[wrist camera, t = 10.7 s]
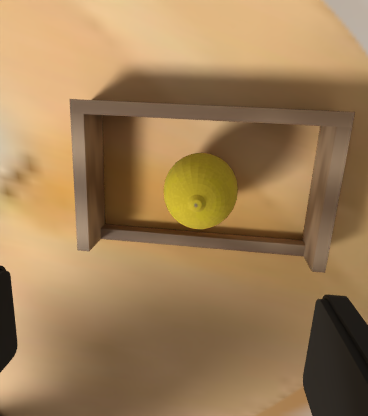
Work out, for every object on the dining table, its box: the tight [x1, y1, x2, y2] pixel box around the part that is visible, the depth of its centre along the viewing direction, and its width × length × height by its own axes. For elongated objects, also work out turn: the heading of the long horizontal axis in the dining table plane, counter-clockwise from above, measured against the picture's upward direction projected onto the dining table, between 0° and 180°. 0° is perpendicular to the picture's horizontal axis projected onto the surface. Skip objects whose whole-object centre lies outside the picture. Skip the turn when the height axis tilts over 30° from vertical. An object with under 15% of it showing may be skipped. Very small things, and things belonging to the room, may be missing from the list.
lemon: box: [164, 153, 238, 229], centre depth 25 cm, size 6×6×8 cm
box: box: [70, 99, 355, 273], centre depth 27 cm, size 12×20×4 cm, turn 87°
